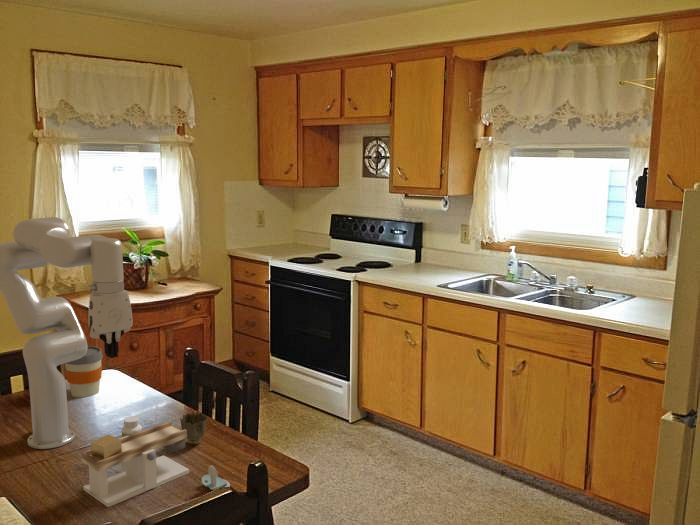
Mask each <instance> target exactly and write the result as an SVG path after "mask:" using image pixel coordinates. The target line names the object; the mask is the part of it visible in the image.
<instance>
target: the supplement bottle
mask: <svg viewBox="0 0 700 525" xmlns="http://www.w3.org/2000/svg"><path fill="white" fill-rule="evenodd" d="M123 425H124V426H123V427H121V437H125V436H130V435H133V434H136V433H139V432H141V431H143V428H142V425H141V424H140V418H139V417H138V416H128V417H125V418H124V419H123Z"/></svg>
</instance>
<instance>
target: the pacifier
mask: <svg viewBox="0 0 700 525" xmlns="http://www.w3.org/2000/svg"><path fill="white" fill-rule="evenodd" d="M207 472H208V473H207V474H204V475H203V476H202V477H201V483H202V485H203V486H204V487H206V488H209V490H212V491H214V490H215V489H217V488H220V487H229V488H230V487H231V483H230V482H229V481H228V480H226V479H223V478H222V477H219V476H218V475H219V474H218V471H217V470H216V468H215V466H214V465H209V466H208V468H207Z"/></svg>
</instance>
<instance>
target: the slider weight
mask: <svg viewBox="0 0 700 525" xmlns="http://www.w3.org/2000/svg"><path fill="white" fill-rule="evenodd" d="M90 449H91V455H92V457H93V458H95V459H97V460H99V461H100V460H103V459H106V458H108V457H111V456H114V455H117V454H119V453H122V445H121V439H119V437H115V436H113V435H110V434H106V435H104V436H102V437H99V438H97V439H94V440H92V441H90Z"/></svg>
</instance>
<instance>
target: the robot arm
mask: <svg viewBox="0 0 700 525" xmlns="http://www.w3.org/2000/svg"><path fill="white" fill-rule="evenodd" d="M67 223H68V222H66V221H65V220H64V219H62V218H61V217H57V216H51V217H39V218H38V217H36V218H35V217H34V218H27V219H23V220H21V221H19V223H17V224H16V225H15V226H14V229H13V232H12V235H13V239H14V241H6V242H1V243H0V293H1V294H2V296H3V298H4V299H5V302H6V304H7V307H8V309H9V312H10V314H11V317H12V318H13V321H14V323H15V326H16V327H17V329H18V331H19V332H20V333H21V334H23V335H34V334H38V333H39V334H40V333H44V332H47V331H51V330H56V331H52V332H48V333H44V334H40V335H37V336H34V337H31V338H30V339H28V340H27V341H26V342H25V343H24V345H23V346H22V356H23V359H24V360H23V361H24V364H25V367H26V372H27V377H28V378H27V379H28V387H29V389H28V390H29V398H30V400H29V401H30V412H31V413H30V415H31V426H32V434H31V435H29V437H28V438H27V440H26V441H27V445H28V446H29V447H30V448H33V449H36V450H37V449H38V450H46V449H47V450H48V449H56V448H58V447H62V446H65V445H68V443H70V442H72V441H73V440H74V439H75V437H76V433H75V431H74V430H73V429H71V428H69V414H68V412H69V410H68V399H67V398H68V397H67V396H68V395H67V385H66V384H67V382H66V377H65V376H64V375H63V374H62V373H61V371H59V370H58V368H57V367H58V366H61V365H64V364H65V363H67V362H71V361H74V360H77V359H80V358H82V357H83V356H84V355H85V354H86V352H87V349H88V341H87V337H86V335H85V332H84V330H83V328H82V325H81V323H80V321H79V319H78V316H77V315H76V311H75V310H74V308H73V306H72V304H71V303H70V301H69V300H67V299H66V298H65V297H62V296H51V297H50V296H49V297H41V296H40V295H39V294H38V291H37V289H36V286H35V284H34V283H33V282H32V281H30V279H28V277H26V276H24V275H22V274H21V273H20V272H18V271H22V270H23V271H24V270H29V269H30V270H31V269H38V268H42V267H43V268H44V267H46V266H49V265H51V266H55V267H59V268H64V269H68V268H75V267H82V266H87V265H88V266H90V265H91V266H90V267H91V280H92V281H91V284H90V285H87V290H88V292H90V291H91V292H92V293H90V296H89V302H88V313H87V314H88V315H87V316H88V319H87V320H88V329H89V331H90V332H89V338H92V339H100V340H101V341H102V342H103V344H104V345H103V346H104V354H105V356H106V357H108V358H110V359H115V358H118V357H119V352H120V351H119V342H121V338H122V337H123V335H124V334H126V333H128V332H129V331H131V330H132V328H131V327H133V322H134V321H133V310H132V304H131V300H130V295H129V293H128V290H126V289H125V280H124V278H125V277H124V259H123V244H122V241H121V240H120V239H118V238H115V237H114V238H113V237H107V236H104V235H101V234H91V235H90V234H87V235H80V236H71V232H70V231H71V230H70V227H69V225H68V224H67ZM70 236H71V237H70Z"/></svg>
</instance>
